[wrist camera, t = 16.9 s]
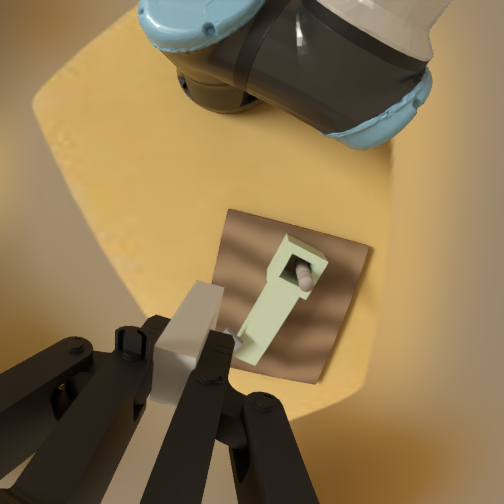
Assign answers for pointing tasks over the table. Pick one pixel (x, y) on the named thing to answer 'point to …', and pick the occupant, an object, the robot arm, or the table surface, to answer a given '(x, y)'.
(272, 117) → the table surface
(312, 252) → the link
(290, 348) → the pintle board
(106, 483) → the robot arm
